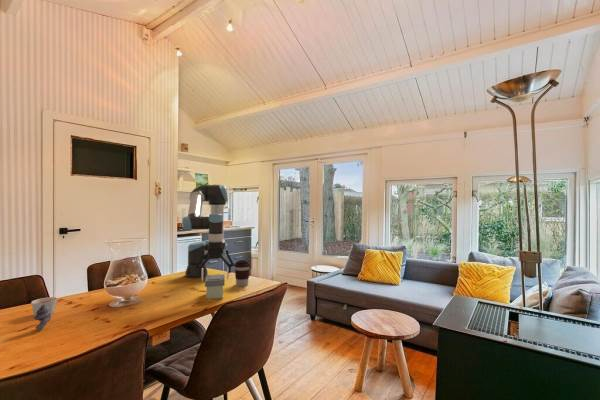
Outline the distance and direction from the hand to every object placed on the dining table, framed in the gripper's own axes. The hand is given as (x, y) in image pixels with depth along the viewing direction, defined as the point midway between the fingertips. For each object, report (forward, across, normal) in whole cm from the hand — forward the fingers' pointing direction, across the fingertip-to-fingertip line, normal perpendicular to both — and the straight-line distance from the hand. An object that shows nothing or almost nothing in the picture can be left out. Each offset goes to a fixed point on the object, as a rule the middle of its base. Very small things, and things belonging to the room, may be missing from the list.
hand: (215, 279), depth 163 cm
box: (+9, 0, 0) cm, 9 cm away
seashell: (+10, -66, -29) cm, 73 cm away
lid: (+3, 0, 0) cm, 3 cm away
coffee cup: (+9, +16, +19) cm, 27 cm away
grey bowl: (+9, -75, -10) cm, 76 cm away
